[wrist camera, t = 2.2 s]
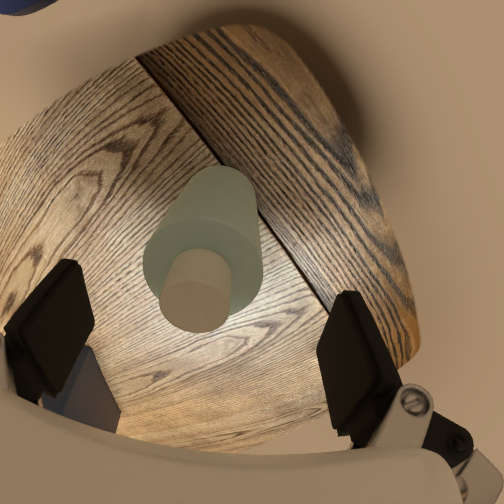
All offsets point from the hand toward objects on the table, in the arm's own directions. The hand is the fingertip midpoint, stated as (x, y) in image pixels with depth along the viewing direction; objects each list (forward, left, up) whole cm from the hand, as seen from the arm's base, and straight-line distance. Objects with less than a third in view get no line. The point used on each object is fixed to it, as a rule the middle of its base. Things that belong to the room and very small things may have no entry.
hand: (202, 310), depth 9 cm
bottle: (0, 0, -10) cm, 10 cm away
